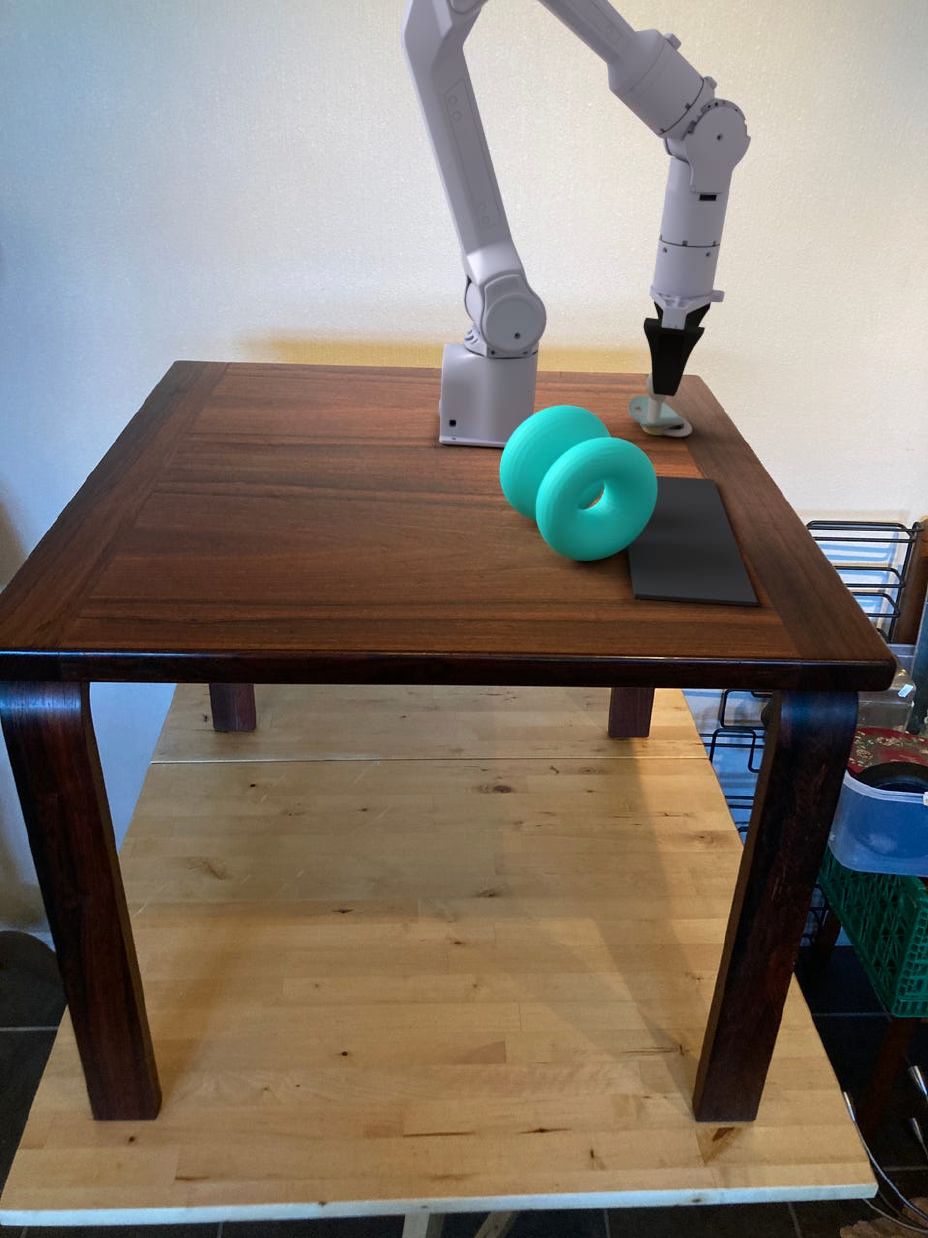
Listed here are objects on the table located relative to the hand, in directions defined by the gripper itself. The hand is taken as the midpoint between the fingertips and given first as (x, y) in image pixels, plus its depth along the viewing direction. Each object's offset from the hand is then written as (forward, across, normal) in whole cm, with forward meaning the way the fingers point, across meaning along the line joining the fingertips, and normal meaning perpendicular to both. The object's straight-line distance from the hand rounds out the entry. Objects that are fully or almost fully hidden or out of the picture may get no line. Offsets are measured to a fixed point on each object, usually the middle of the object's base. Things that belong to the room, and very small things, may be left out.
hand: (668, 382), depth 99 cm
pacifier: (+5, 0, 0) cm, 5 cm away
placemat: (+5, -24, -4) cm, 25 cm away
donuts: (+5, -28, +5) cm, 28 cm away
